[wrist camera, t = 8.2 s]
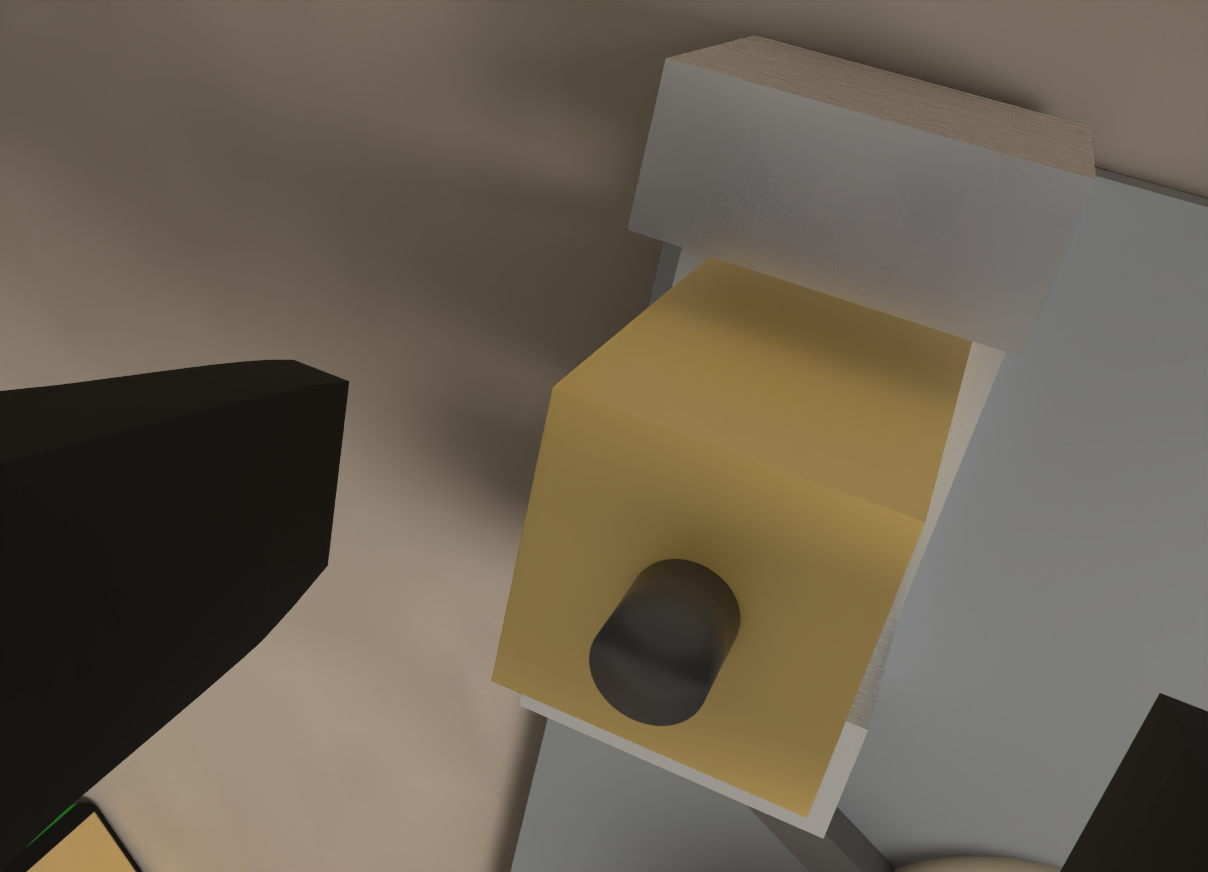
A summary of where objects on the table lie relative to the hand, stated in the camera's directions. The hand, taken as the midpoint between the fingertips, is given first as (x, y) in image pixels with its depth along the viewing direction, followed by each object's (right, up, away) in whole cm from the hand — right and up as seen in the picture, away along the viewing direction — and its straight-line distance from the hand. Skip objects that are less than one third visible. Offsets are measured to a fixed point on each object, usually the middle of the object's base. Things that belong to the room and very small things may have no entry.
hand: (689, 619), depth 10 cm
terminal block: (+2, +2, +5) cm, 6 cm away
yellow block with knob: (+2, +2, +5) cm, 5 cm away
